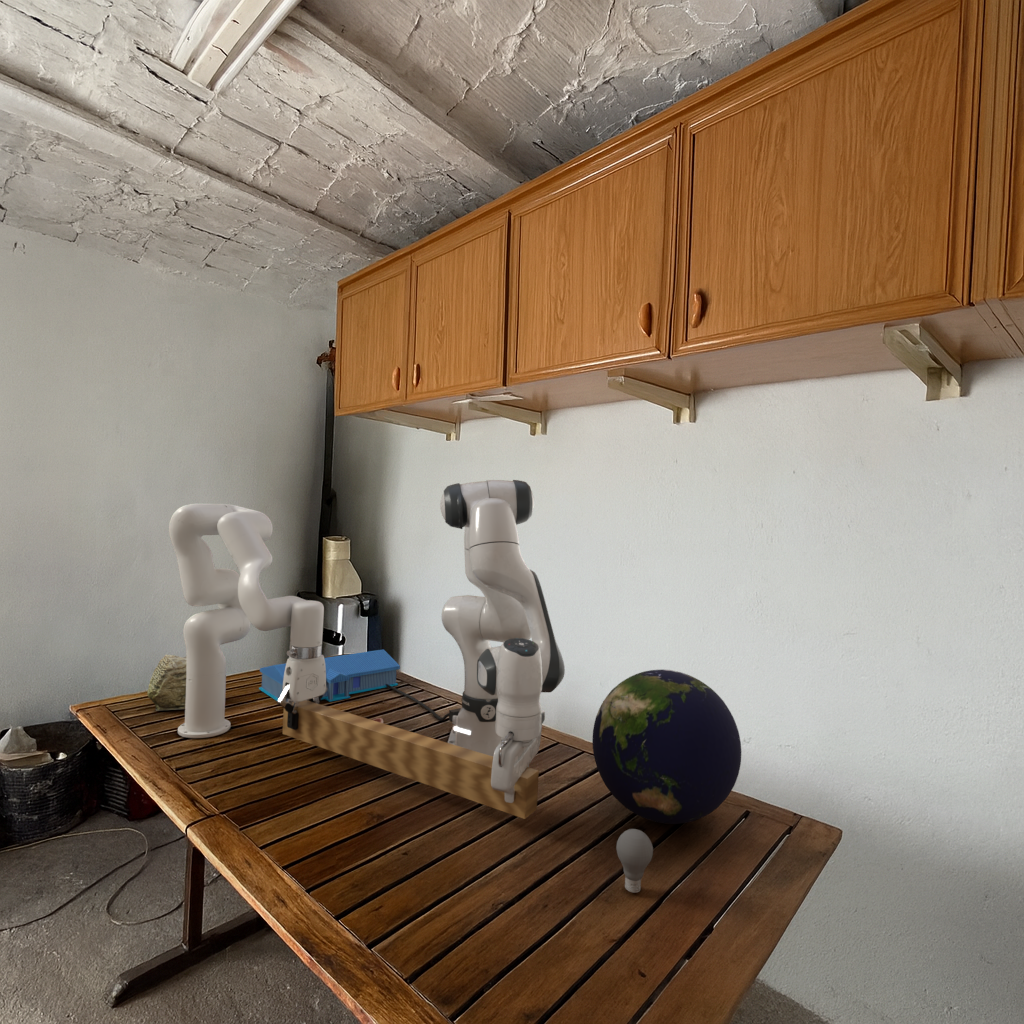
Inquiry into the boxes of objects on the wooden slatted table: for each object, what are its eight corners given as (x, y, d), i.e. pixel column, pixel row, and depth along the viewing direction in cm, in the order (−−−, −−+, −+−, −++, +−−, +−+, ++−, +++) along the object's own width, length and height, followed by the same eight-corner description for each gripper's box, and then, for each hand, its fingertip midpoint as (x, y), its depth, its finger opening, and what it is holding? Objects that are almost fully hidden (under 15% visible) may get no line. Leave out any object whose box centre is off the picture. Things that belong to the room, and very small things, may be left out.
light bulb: (610, 879, 108) (613, 822, 108) (644, 879, 109) (647, 822, 109) (619, 902, 102) (622, 840, 102) (655, 901, 103) (658, 840, 103)
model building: (289, 709, 186) (291, 675, 185) (258, 688, 204) (259, 657, 204) (403, 687, 212) (405, 657, 212) (366, 670, 230) (368, 643, 230)
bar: (282, 734, 156) (283, 702, 156) (297, 728, 160) (299, 697, 160) (524, 819, 120) (527, 778, 120) (536, 809, 124) (538, 770, 124)
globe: (571, 831, 124) (578, 679, 123) (607, 773, 151) (613, 648, 151) (733, 872, 112) (742, 704, 112) (740, 800, 140) (747, 665, 139)
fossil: (144, 707, 182) (145, 655, 182) (212, 696, 194) (213, 647, 194) (151, 716, 175) (153, 662, 175) (221, 703, 188) (223, 653, 188)
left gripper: (287, 661, 146) (283, 739, 146) (342, 648, 161) (338, 719, 161) (266, 655, 150) (262, 731, 150) (321, 643, 164) (317, 712, 165)
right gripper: (516, 747, 113) (513, 822, 113) (547, 709, 132) (544, 774, 133) (483, 741, 115) (481, 815, 115) (518, 704, 134) (516, 768, 135)
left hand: (301, 724), depth 156 cm, fingers closed on bar, 4 cm apart
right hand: (515, 793), depth 124 cm, fingers closed on bar, 5 cm apart
